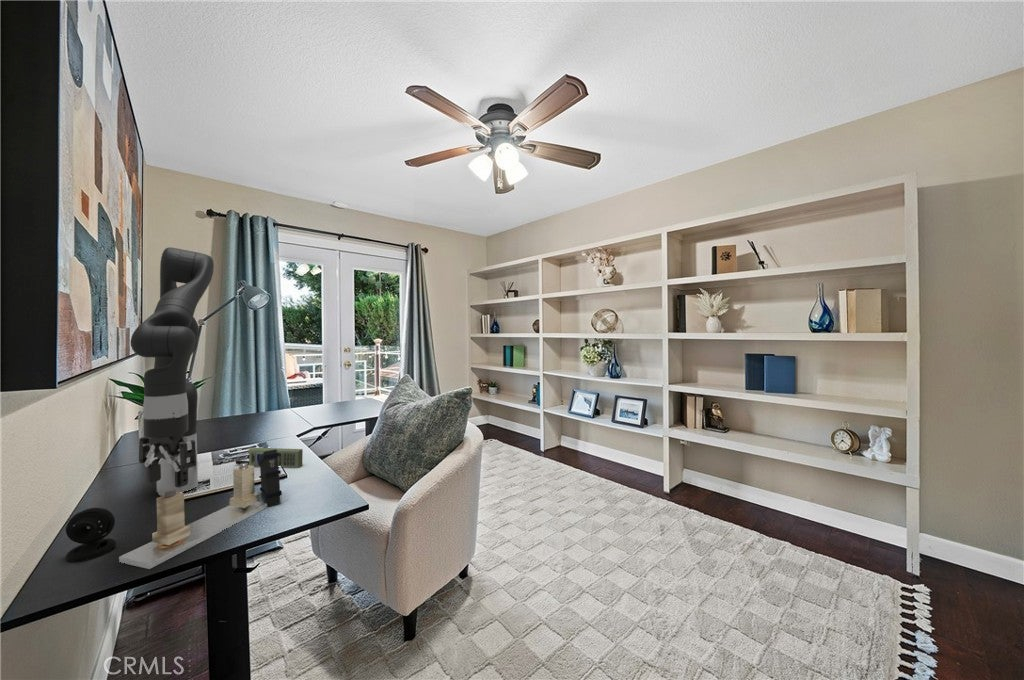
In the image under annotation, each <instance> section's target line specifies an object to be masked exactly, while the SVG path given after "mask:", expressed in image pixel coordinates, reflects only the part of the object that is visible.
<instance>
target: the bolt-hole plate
mask: <svg viewBox="0 0 1024 680" xmlns="http://www.w3.org/2000/svg"><path fill="white" fill-rule="evenodd" d="M238 465H239V466H238V467H237V468H233V469H232V476H233V477H232V479H233V497H230V498H229V505H227V506H225V507H223V508H220V509H218V510H216V511H214V512H212V513H210V514H208V515H205V516H203V517H201V518H199V519H198V520H195V521H192V522H190V523H188V524H185V526H190V535H189V536H187V537H185V538H183V539H180V540H178V541H176V542H174V543H172V544H170V545H165V544H160V543H155V542H152V541H150V542H148V543H146V544H143V545H141V546H140V547H137V548H135V549H133V550H131V551H129V552H126V553H124V554H122V555H120V556H118V562H119V563H120V562H121V564H124V563H125V564H126V565H130V566H133V567H134V566H135V567H138V568H142V569H147V570H151V569H152V568H154V567H156V566H158V565H160V564H163V563H164V562H166V561H168V560H169V559H171V558H173V557H175V556H178V555H179V554H181V553H183V552H184V551H187V550H188V549H191V548H192V547H194V546H197V545H198V544H200V543H202V542H204V541H206V540H208V539H210V538H211V537H213V536H215V535H217V534H219V533H221V532H223V531H225V530H227V529H229V528H231V527H233V526H234V524H235V525H236V523H237V524H238V523H240V522H242V521H245V520H246V519H248V518H250V517H252V516H253V515H256V514H257V513H260V512H262V511H263V510H265V509H266V508H268V505H267V503H266V502H263V501H260V495H259V493H255V491H256V490H255V467H254V466H251V465H249V464H248V463H242V464H238ZM232 525H233V526H232ZM226 528H227V529H226ZM224 529H225V530H224ZM222 530H223V531H222Z"/></svg>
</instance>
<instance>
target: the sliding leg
mask: <svg viewBox="0 0 1024 680" xmlns="http://www.w3.org/2000/svg"><path fill="white" fill-rule="evenodd" d="M185 519H186V518H185V493H180V492H176V490H168V491H166V492H164V496H160V497H159V496H158V497H156V528H157V530H156V531H155V532H153V533H151V538H152V539H151V540H152V541H151V542H155V543H160V544H165V545H170V544H172V543H174V542H176V541H178V540H180V539H183V538H185V537H187V536H189V535H190V526H186V524H185Z"/></svg>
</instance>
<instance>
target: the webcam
mask: <svg viewBox="0 0 1024 680" xmlns="http://www.w3.org/2000/svg"><path fill="white" fill-rule="evenodd" d="M115 525H116V518H115V515H114V514H113V513H112V512H111V511H110V510H109V509H107V508H103V507H90V508H86V509H84V510H81V511H79V512H76V513H75V514H74V515H73V516H72V517H71V518H70V519H69V520H68V522H67V524H66V526H65V533H66V536H67V537H68V539H69V540H70V541H72V542H74V543H76V544H80V545H78V546H76V547H73V548H72V549H70V550H69V551H68V552H67V554H66V556H65V559H66V561H68V562H72V563H74V562H73V561H79V562H83V561H82V560H85V561H88V560H87V559H89V560H92V559H95V558H97V557H100V556H102V555H104V554H107V553H108V552H110V551H112V550H113V549H114V548H115V546H116V545H117V541H116V539H114V538H108V537H107V536H109V534H110V533H111V532H112V531H113V529H114V527H115ZM99 545H101V546H103V547H101V548H99V549H97V548H98V547H100V546H99ZM94 557H95V558H94Z"/></svg>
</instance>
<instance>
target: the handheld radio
mask: <svg viewBox="0 0 1024 680" xmlns="http://www.w3.org/2000/svg"><path fill="white" fill-rule="evenodd" d="M246 449H247V453H248V455H247V459H248V460H239V459H238V460H237V459H236V461H235V465H239V464H242V463H248V465H251V466H260V465H258V462H259V458H260V457H261V455H262V454H263V453H264V452H265V451H270V450H275V449H277V453H279V456H278V466H282V467H283V468H284V469H285V468H286V469H300V468H302V467H303V448H277V447H273V448H272V447H247V448H246Z"/></svg>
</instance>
